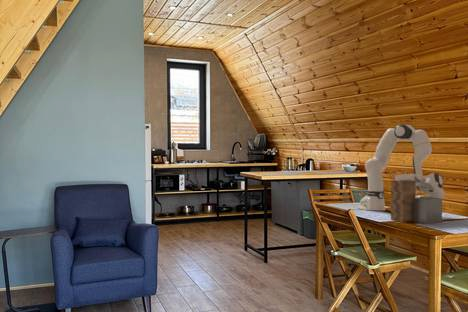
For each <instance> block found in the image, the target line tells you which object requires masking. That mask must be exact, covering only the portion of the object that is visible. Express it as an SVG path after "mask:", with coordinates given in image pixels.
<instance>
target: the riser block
mask: <svg viewBox="0 0 468 312" xmlns="http://www.w3.org/2000/svg"><path fill="white" fill-rule="evenodd" d="M413 221H414V222H413ZM413 221H412V222H413V223H419V224H424V225H428V224H429V225H430V224H439V223H443V199H441V198H433V197H429V196H426V197H422V198H413Z"/></svg>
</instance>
